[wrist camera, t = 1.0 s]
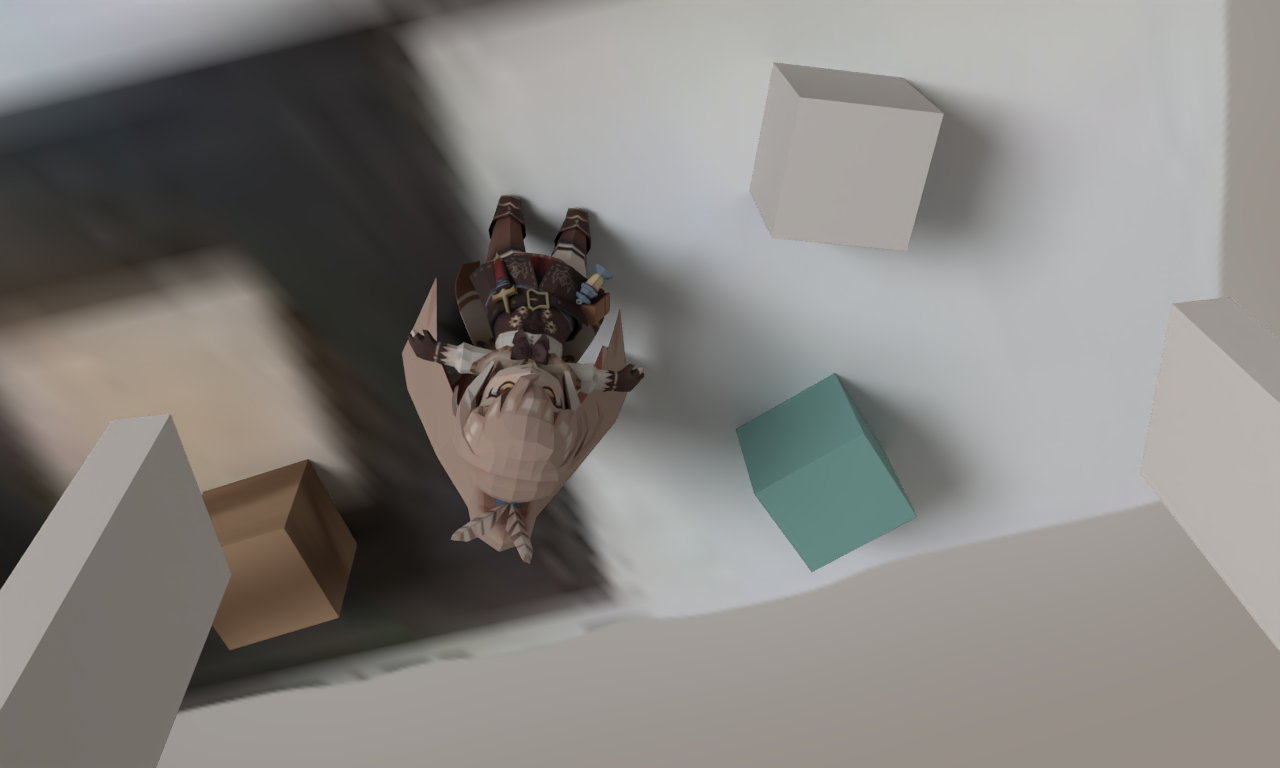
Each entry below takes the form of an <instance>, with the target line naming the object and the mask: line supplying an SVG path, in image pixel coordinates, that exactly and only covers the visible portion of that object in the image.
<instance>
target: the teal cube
mask: <svg viewBox="0 0 1280 768" xmlns="http://www.w3.org/2000/svg"><path fill="white" fill-rule="evenodd" d="M736 431H737V435H738V438H739V442H740V445H741V449H742V452H743V456H744V459H745V463H746V466H747V470H748V473H749V477H750V480H751V484H752V487H753V491H754V494H755V495H756V497H757V498H758V500H759V501H760V502H761V504H762V505H763V506H764V508H765V509H766V510H767V512H768V513H769V514H770V516H771V517H772V519H773V520H774V521H775V523H776V524H777V525H778V527H779V528H780V529H781V531H782V532H783V534H784V535H785V536H786V538H787V539H788V540H789V542H790V543H791V544H792V546H793V547H794V549H795V550H796V551H797V553H798V554H799V555H800V557H801V558H802V559H803V561H804V562H805V564H806V565H807V566H808V568H809V569H810V570H811V572H813V571H815V570H817V569H819V568H821V567H823V566H824V565H826V564H828V563H830V562H832V561H834V560H836V559H838V558H840V557H841V556H843V555H845V554H847V553H849V552H851V551H853V550H855V549H857V548H859V547H860V546H862V545H864V544H866V543H868V542H870V541H872V540H874V539H876V538H877V537H879V536H881V535H883V534H885V533H887V532H889V531H891V530H893V529H894V528H896V527H898V526H900V525H902V524H904V523H906V522H908V521H910V520H911V519H913V518H915V517H917V516H916V514H915V512H914V510H913V508H912V506H911V504H910V502H909V500H908V498H907V496H906V494H905V492H904V490H903V488H902V486H901V484H900V482H899V480H898V477H897V475H896V473H895V471H894V469H893V467H892V465H891V463H890V461H889V459H888V457H887V455H886V453H885V451H884V450H883V448H882V447H881V445H880V444H879V442H878V440H877V439H876V437H875V436H874V434H873V433H872V431H871V429H870V428H869V426H868V425H867V423H866V421H865V420H864V418H863V417H862V415H861V414H860V412H859V410H858V409H857V407H856V406H855V404H854V403H853V401H852V399H851V398H850V396H849V395H848V393H847V392H846V390H845V388H844V387H843V385H842V384H841V382H840V381H839V379H838V377H837V376H836V374H835V373H834V374H832V375H831V376H829V377H827V378H825V379H824V380H822V381H820V382H818V383H817V384H815V385H813V386H811V387H809V388H808V389H806V390H804V391H802V392H801V393H799V394H797V395H795V396H794V397H792V398H790V399H788V400H787V401H785V402H783V403H781V404H780V405H778V406H776V407H774V408H773V409H771V410H769V411H767V412H766V413H764V414H762V415H760V416H759V417H757V418H755V419H753V420H751V421H750V422H748V423H746V424H744V425H743V426H741V427H739V428H737V429H736Z"/></svg>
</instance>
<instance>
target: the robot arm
mask: <svg viewBox="0 0 1280 768" xmlns="http://www.w3.org/2000/svg"><path fill="white" fill-rule="evenodd" d="M1140 474H1141V476H1142V477H1143V478H1144V479H1145V481H1146V482H1147V483H1148V485H1149V486H1150V487H1151V488H1152V490H1153V491H1154V492H1155V493H1156V495H1157V496H1158V497H1159V499H1160V500H1161V501H1162V502H1163V504H1164V505H1165V506H1166V507H1167V509H1168V510H1169V511H1170V513H1171V514H1172V515H1173V516H1174V518H1175V519H1176V520H1177V521H1178V523H1179V524H1180V525H1181V526H1182V528H1183V529H1184V530H1185V531H1186V533H1187V534H1188V535H1189V537H1190V538H1191V539H1192V541H1193V542H1194V543H1195V544H1196V546H1197V547H1198V548H1199V549H1200V551H1201V552H1202V553H1203V554H1204V555H1205V557H1206V558H1207V560H1208V561H1209V562H1210V563H1211V565H1212V566H1213V567H1214V568H1215V570H1216V571H1217V572H1218V574H1219V575H1220V576H1221V577H1222V579H1223V580H1224V581H1225V583H1226V584H1227V585H1228V586H1229V588H1230V589H1231V590H1232V591H1233V592H1234V594H1235V595H1236V596H1237V598H1238V599H1239V600H1240V602H1241V603H1242V604H1243V605H1244V607H1245V608H1246V609H1247V610H1248V612H1249V613H1250V614H1251V615H1252V617H1253V618H1254V619H1255V621H1256V622H1257V623H1258V624H1259V626H1260V627H1261V628H1262V630H1263V631H1264V632H1265V633H1266V635H1267V636H1268V637H1269V638H1270V640H1271V641H1272V642H1273V644H1274V645H1275V646H1276V647H1277V649H1278V650H1279V651H1280V339H1279V338H1278V337H1277V336H1276V335H1275V334H1273V333H1272V332H1271V331H1270V330H1269V329H1267V328H1266V327H1265V326H1264V325H1263V324H1261V323H1260V322H1259V321H1258V320H1257V319H1255V318H1254V317H1253V316H1252V315H1251V314H1250V313H1248V312H1247V311H1246V310H1245V309H1244V308H1242V307H1241V306H1240V305H1239V304H1237V303H1236V302H1235V301H1234V300H1233V299H1232V298H1230V297H1228V298H1219V299H1210V300H1201V301H1192V302H1183V303H1173V304H1172V307H1171V313H1170V318H1169V323H1168V329H1167V334H1166V339H1165V344H1164V350H1163V355H1162V360H1161V365H1160V371H1159V376H1158V381H1157V387H1156V392H1155V397H1154V402H1153V408H1152V413H1151V418H1150V423H1149V429H1148V434H1147V439H1146V444H1145V450H1144V455H1143V460H1142V466H1141V471H1140ZM230 577H231V572H230V569H229V567H228V564H227V561H226V559H225V556H224V554H223V551H222V548H221V546H220V543H219V540H218V538H217V535H216V532H215V530H214V527H213V525H212V522H211V519H210V517H209V514H208V511H207V509H206V506H205V503H204V501H203V498H202V495H201V493H200V490H199V488H198V485H197V482H196V480H195V477H194V474H193V472H192V469H191V466H190V464H189V461H188V459H187V456H186V453H185V451H184V448H183V445H182V443H181V440H180V437H179V435H178V432H177V430H176V427H175V424H174V422H173V419H172V416H171V414H163V415H154V416H144V417H135V418H126V419H117V420H111V422H110V423H109V425H108V426H107V428H106V429H105V431H104V432H103V434H102V435H101V437H100V439H99V440H98V442H97V443H96V445H95V446H94V448H93V449H92V451H91V452H90V454H89V455H88V457H87V458H86V460H85V461H84V463H83V465H82V466H81V468H80V469H79V471H78V472H77V474H76V475H75V477H74V478H73V480H72V481H71V483H70V484H69V486H68V487H67V489H66V491H65V492H64V494H63V495H62V497H61V498H60V500H59V501H58V503H57V504H56V506H55V507H54V509H53V510H52V512H51V513H50V515H49V516H48V518H47V520H46V521H45V523H44V524H43V526H42V527H41V529H40V530H39V532H38V533H37V535H36V536H35V538H34V539H33V541H32V542H31V544H30V546H29V547H28V549H27V550H26V552H25V553H24V555H23V556H22V558H21V559H20V561H19V562H18V564H17V565H16V567H15V568H14V570H13V571H12V573H11V575H10V576H9V578H8V579H7V581H6V582H5V584H4V585H3V587H2V588H1V590H0V768H156V766H157V764H158V761H159V759H160V756H161V753H162V751H163V748H164V745H165V743H166V741H167V738H168V735H169V733H170V730H171V728H172V725H173V723H174V720H175V718H176V715H177V713H178V710H179V708H180V705H181V702H182V700H183V697H184V695H185V692H186V690H187V687H188V685H189V682H190V679H191V677H192V674H193V672H194V669H195V667H196V664H197V662H198V659H199V656H200V654H201V651H202V649H203V646H204V644H205V641H206V639H207V636H208V633H209V631H210V628H211V626H212V623H213V621H214V618H215V615H216V613H217V610H218V608H219V605H220V603H221V600H222V598H223V595H224V592H225V590H226V587H227V585H228V582H229V580H230Z"/></svg>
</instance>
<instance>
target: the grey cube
mask: <svg viewBox="0 0 1280 768" xmlns="http://www.w3.org/2000/svg"><path fill="white" fill-rule="evenodd" d="M943 115H944V113H943V112H941V111H940V110H939V109H938V108H937V107H936V106H934V105H933V104H932V103H931V102H930V101H929V100H928V99H926V98H925V97H924V96H923V95H922V94H921V93H919V92H918V91H917V90H916V89H915V88H914V87H913V86H911V85H910V84H909V83H908V82H907V81H906V80H904V79H903V78H901V77H892V76H884V75H876V74H867V73H859V72H850V71H842V70H833V69H825V68H817V67H808V66H800V65H791V64H783V63H774V62H773V67H772V72H771V77H770V83H769V88H768V93H767V99H766V104H765V109H764V115H763V120H762V125H761V131H760V136H759V141H758V147H757V152H756V157H755V162H754V168H753V173H752V178H751V184H750V189H749V191H750V194H751V196H752V198H753V200H754V202H755V204H756V206H757V208H758V210H759V212H760V215H761V217H762V219H763V221H764V223H765V225H766V227H767V229H768V231H769V234H770V236H771V238H779V239H789V240H799V241H809V242H820V243H830V244H840V245H851V246H861V247H871V248H881V249H892V250H902V251H907V249H908V245H909V241H910V237H911V234H912V230H913V226H914V223H915V219H916V215H917V212H918V208H919V204H920V200H921V197H922V193H923V189H924V186H925V182H926V178H927V174H928V171H929V167H930V163H931V160H932V156H933V152H934V148H935V145H936V141H937V137H938V134H939V130H940V126H941V123H942V119H943Z"/></svg>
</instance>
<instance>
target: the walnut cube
mask: <svg viewBox="0 0 1280 768" xmlns="http://www.w3.org/2000/svg"><path fill="white" fill-rule="evenodd" d="M202 498H203V501H204V503H205V506H206V509H207V511H208V514H209V517H210V519H211V522H212V525H213V527H214V530H215V532H216V535H217V538H218V540H219V543H220V546H221V548H222V551H223V554H224V556H225V559H226V561H227V564H228V567H229V569H230V572H231V577H230V580H229V582H228V585H227V587H226V590H225V592H224V595H223V598H222V600H221V603H220V605H219V608H218V610H217V613H216V615H215V618H214V621H213V623H212V626H213V627H214V628H215V630H216V631H217V633H218V634H219V635H220V637H221V638H222V640H223V641H224V643H225V644H226V645H227V647H228V648H229V650H232V649H236V648H239V647H242V646H246V645H249V644H252V643H256V642H259V641H262V640H266V639H269V638H272V637H276V636H279V635H282V634H286V633H289V632H292V631H296V630H299V629H303V628H306V627H309V626H313V625H316V624H319V623H323V622H326V621H329V620H333V619H336V618H339V616H340V612H341V608H342V604H343V600H344V596H345V592H346V588H347V584H348V580H349V576H350V572H351V568H352V564H353V560H354V556H355V552H356V548H357V543H356V541H355V540H354V538H353V536H352V534H351V533H350V531H349V529H348V528H347V526H346V524H345V522H344V521H343V519H342V517H341V515H340V514H339V512H338V510H337V508H336V507H335V505H334V503H333V502H332V500H331V498H330V496H329V495H328V493H327V491H326V489H325V488H324V486H323V484H322V483H321V481H320V479H319V477H318V476H317V474H316V472H315V470H314V469H313V467H312V465H311V463H310V462H309V460H308V459H307V460H304V461H301V462H298V463H294V464H291V465H288V466H285V467H282V468H279V469H275V470H272V471H269V472H266V473H263V474H259V475H256V476H253V477H250V478H247V479H243V480H240V481H237V482H234V483H231V484H228V485H224V486H221V487H218V488H215V489H212V490H208V491H205V492H203V494H202Z"/></svg>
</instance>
